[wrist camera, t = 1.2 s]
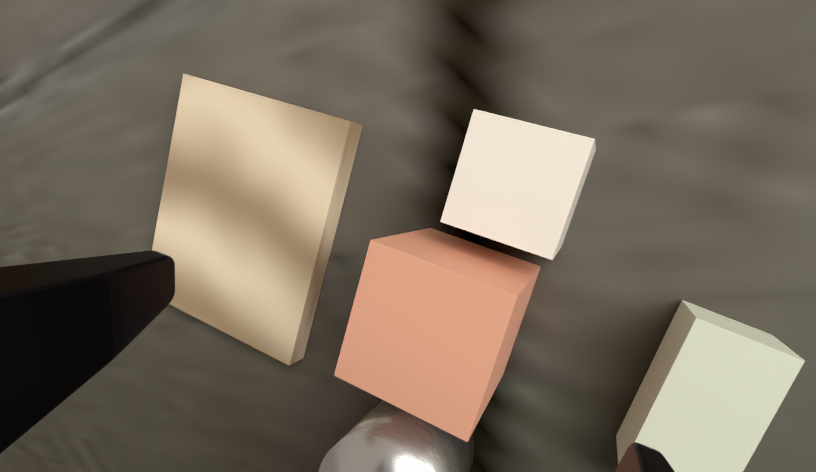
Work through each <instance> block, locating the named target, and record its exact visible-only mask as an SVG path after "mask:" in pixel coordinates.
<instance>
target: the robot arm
mask: <svg viewBox="0 0 816 472" xmlns="http://www.w3.org/2000/svg"><path fill="white" fill-rule="evenodd" d="M174 295H175V262H174V260H173V258H171V257H170V256H168V255H165V254H163V253H160V252H158V251H143V252H134V253H125V254H116V255H106V256H97V257H88V258H79V259H70V260H61V261H52V262H43V263H34V264H25V265H16V266H7V267H0V453H2V452H3V451H4V450H5V449H6V448H8V447H9V446H10V445H11V444H12V443H14V442H15V441H16V440H17V439H18V438H20V437H21V436H22V435H23V434H24V433H26V432H27V431H28V430H29V429H30V428H32V427H33V426H34V425H35V424H36V423H38V422H39V421H40V420H41V419H42V418H44V417H45V416H46V415H47V414H48V413H50V412H51V411H52V410H53V409H54V408H56V407H57V406H58V405H59V404H60V403H62V402H63V401H64V400H65V399H66V398H68V397H69V396H70V395H71V394H72V393H74V392H75V391H76V390H77V389H78V388H80V387H81V386H82V385H83V384H84V383H86V382H87V381H88V380H89V379H90V378H92V377H93V376H94V375H95V374H96V373H97V372H99V371H100V370H101V369H102V368H103V367H105V366H106V365H107V364H108V363H109V362H110V361H112V360H113V359H114V358H115V357H116V356H117V355H118V354H119V353H120V352H121V351H122V350H123V349H124V348H125V347H126V346H127V345H128V344H129V343H130V342H131V341H132V340H133V339H134V338H135V337H136V336H137V335H138V334H139V333H140V332H141V331H142V330H143V329H144V328H145V327H146V326H147V325H148V324H149V323H150V322H151V321H152V320H153V319H154V318H155V317H156V316H158V315H159V314H160V313H161V312H162V311H163V310H164V309H165V308H166V307H167V306H168V305H169V303H170V302H171V301H172V299H173V297H174ZM614 472H675V471H674V470H673V468H672V467H671V465H670V464H669V463H668V461H667V460H666V458H665V457H664V456H663V455H662V453H661V452H659V451H657V450H655V449H653V448H650V447H648V446H645V445H643V444H640V443H637V442H635V443H632V444H631V445H630V446H629V447H628V448H627V450H626V452H625V453H624V455H623V457H622V459H621V461H620V462H619V464H618V466H617V468H616V469H615V471H614Z"/></svg>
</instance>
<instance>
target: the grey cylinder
mask: <svg viewBox="0 0 816 472" xmlns="http://www.w3.org/2000/svg"><path fill="white" fill-rule="evenodd" d="M473 458H474V439H473V434H472V435H471V437H470V439H469V441H468V442H466V441H464V440H462V439H460V438H458V437H456V436H454V435H452V434H450V433H448V432H446V431H444V430H442V429H440V428H438V427H436V426H434V425H432V424H430V423H428V422H426V421H424V420H422V419H420V418H418V417H416V416H414V415H412V414H410V413H408V412H406V411H404V410H402V409H400V408H398V407H396V406H394V405H392V404H390V403H388V402H386V401H384V400H382V401H381V402H380V403H379V404H377V405H376V406H375V407H374V408H373V409H372V410H371V411H370V412H369V413H368V414H367V415H366V416H365V417H364V418H363V419H362V420H361V421H360V422H359V423H358V424H356V425H355V426H354V427H353V428H352V429H351V430H350V431H349V432H348V433H347V434H346V435H345V436H344V437H343V438H342V439H341V440H340V441H339V442H338V443H337V444H335V445H334V446H333V447H332V448H331V449H330V450H329V451H328V453H327V454H326V455H325V457H324V459H323V461H322V462H321V465H320V468H319V471H318V472H468V471H469V469H470V467H471V465H472V461H473Z"/></svg>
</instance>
